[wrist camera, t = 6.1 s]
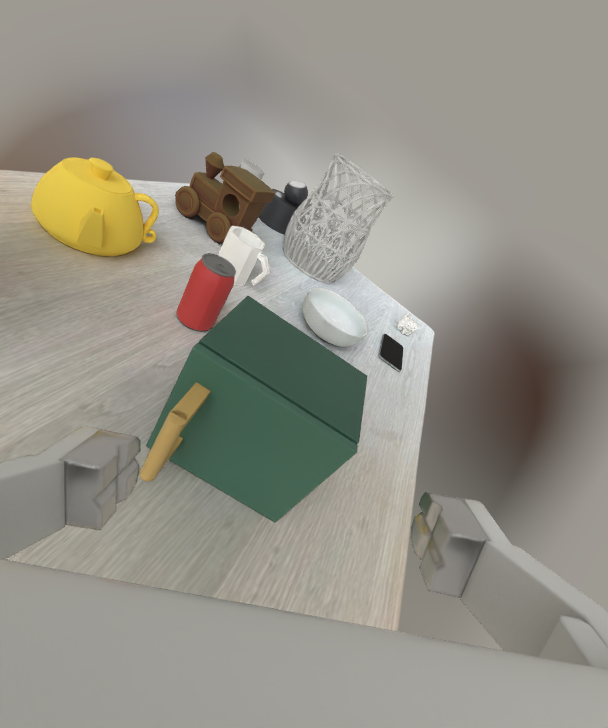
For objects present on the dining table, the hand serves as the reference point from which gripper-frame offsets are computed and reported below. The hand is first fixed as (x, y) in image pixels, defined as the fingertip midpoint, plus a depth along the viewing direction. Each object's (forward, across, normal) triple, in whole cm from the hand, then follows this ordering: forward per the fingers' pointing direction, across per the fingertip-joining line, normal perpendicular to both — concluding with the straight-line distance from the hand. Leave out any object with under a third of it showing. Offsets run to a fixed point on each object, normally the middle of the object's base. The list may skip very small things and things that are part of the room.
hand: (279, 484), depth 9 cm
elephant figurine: (+103, -32, +9) cm, 108 cm away
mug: (+70, +18, 0) cm, 73 cm away
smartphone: (+84, -25, +13) cm, 89 cm away
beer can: (+50, +20, +7) cm, 54 cm away
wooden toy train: (+86, +30, -11) cm, 91 cm away
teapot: (+54, +40, -3) cm, 67 cm away
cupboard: (+32, +6, +19) cm, 38 cm away
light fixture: (+119, +18, -18) cm, 122 cm away
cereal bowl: (+73, -4, +9) cm, 73 cm away
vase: (+106, +3, -7) cm, 106 cm away
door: (+23, +8, +21) cm, 33 cm away
